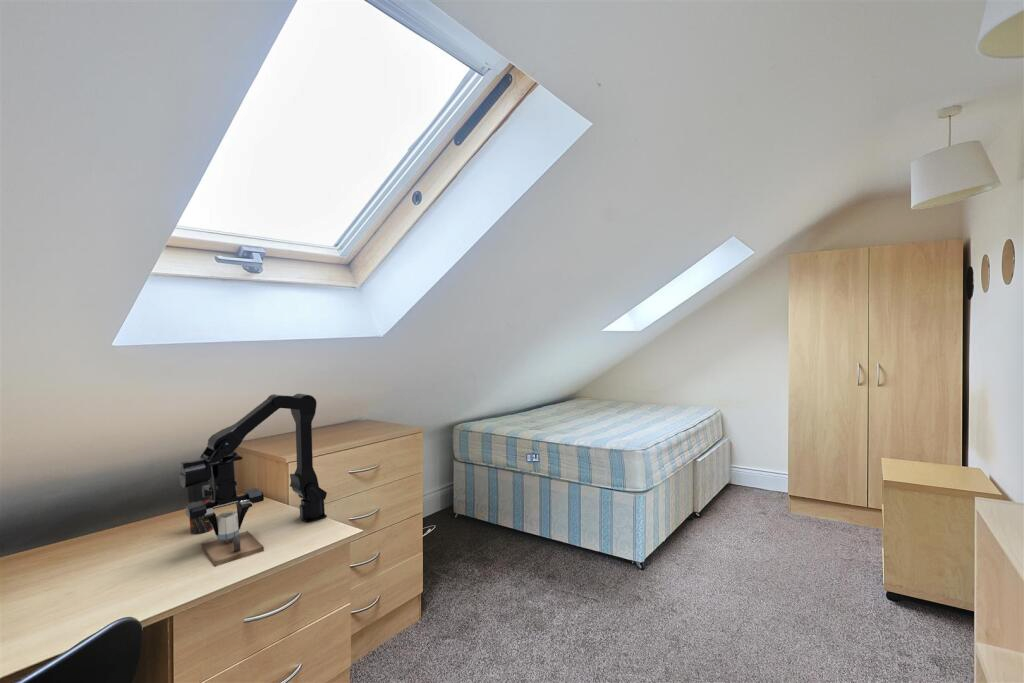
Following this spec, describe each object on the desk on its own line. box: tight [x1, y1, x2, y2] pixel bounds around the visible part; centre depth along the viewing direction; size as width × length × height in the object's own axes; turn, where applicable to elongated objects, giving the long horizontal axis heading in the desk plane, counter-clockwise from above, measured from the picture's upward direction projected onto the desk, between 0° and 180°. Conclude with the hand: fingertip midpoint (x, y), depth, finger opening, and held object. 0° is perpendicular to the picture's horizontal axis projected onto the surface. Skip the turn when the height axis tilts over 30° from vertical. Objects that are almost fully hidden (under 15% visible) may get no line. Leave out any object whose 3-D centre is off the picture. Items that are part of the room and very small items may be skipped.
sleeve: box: [216, 511, 240, 540], centre depth 148 cm, size 5×5×6 cm
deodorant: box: [186, 479, 213, 535], centre depth 159 cm, size 6×6×15 cm
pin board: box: [201, 530, 265, 567], centre depth 145 cm, size 12×15×5 cm
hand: (227, 532), depth 148 cm, fingers closed on sleeve, 5 cm apart
